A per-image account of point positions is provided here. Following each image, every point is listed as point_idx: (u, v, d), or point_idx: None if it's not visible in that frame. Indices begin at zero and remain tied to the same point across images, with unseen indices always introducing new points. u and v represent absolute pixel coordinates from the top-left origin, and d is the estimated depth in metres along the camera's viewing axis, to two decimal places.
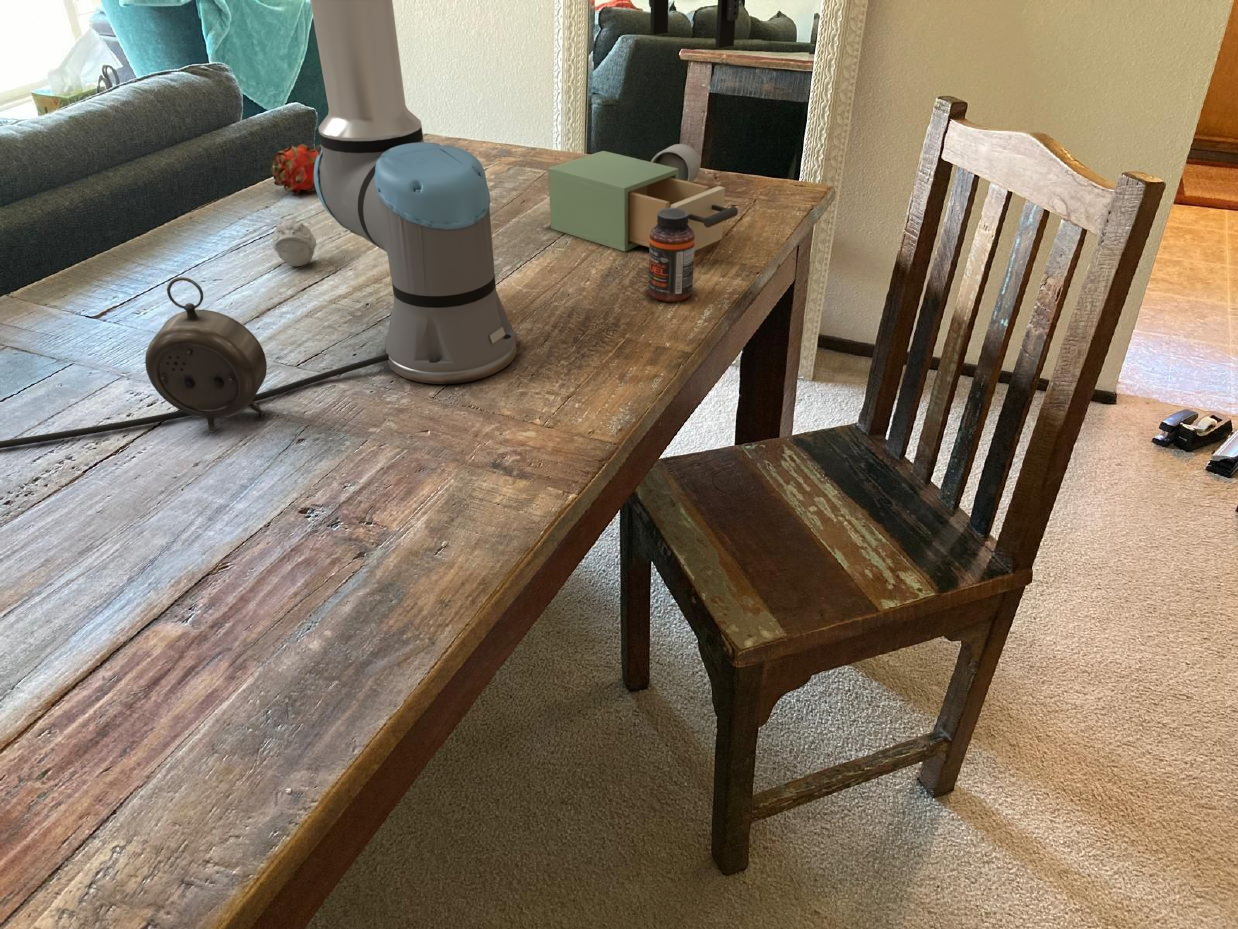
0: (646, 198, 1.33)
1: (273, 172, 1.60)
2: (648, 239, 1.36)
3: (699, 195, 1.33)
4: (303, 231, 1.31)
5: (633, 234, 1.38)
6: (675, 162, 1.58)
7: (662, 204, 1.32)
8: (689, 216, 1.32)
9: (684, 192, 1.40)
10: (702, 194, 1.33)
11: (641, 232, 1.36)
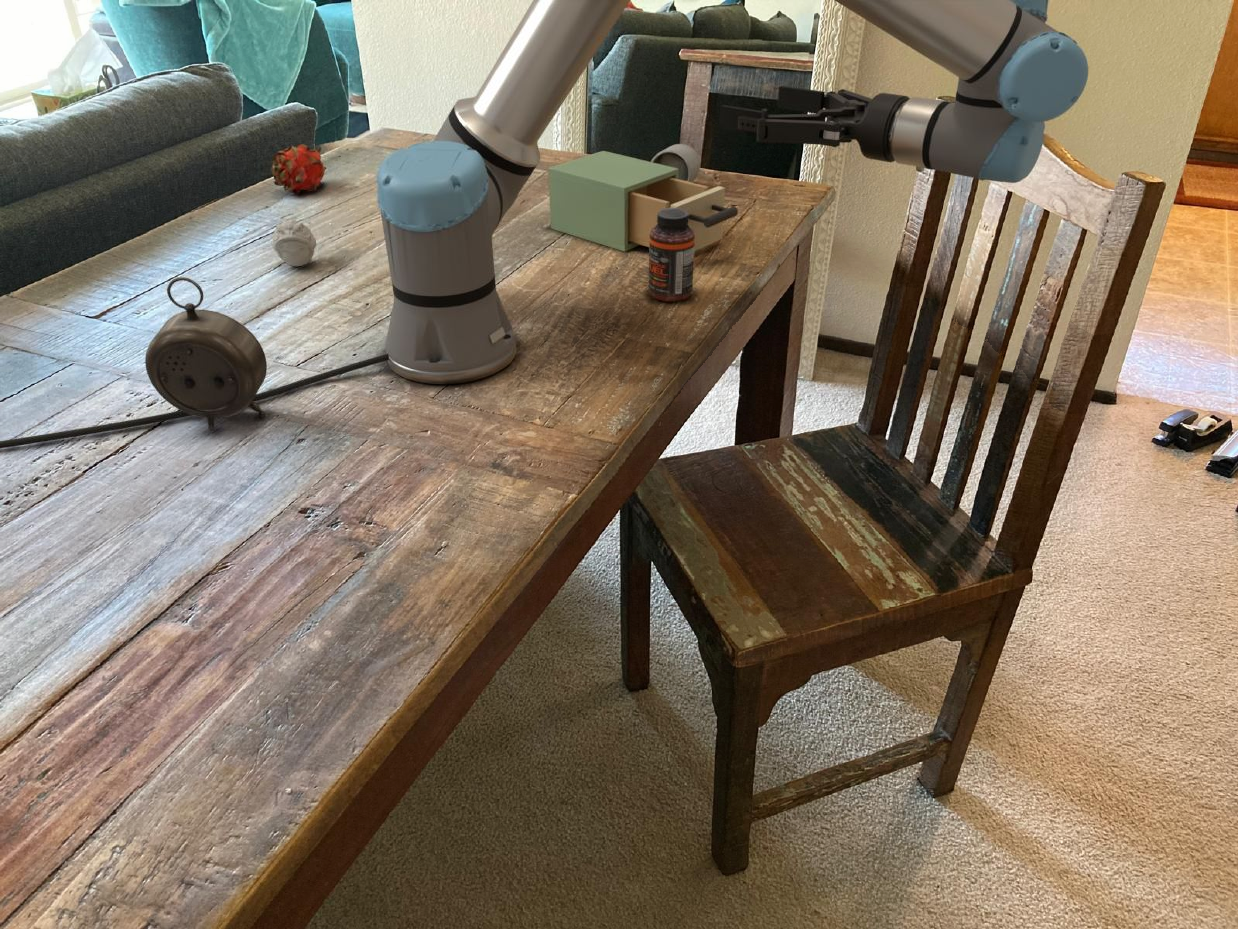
0: (646, 198, 1.33)
1: (273, 172, 1.60)
2: (648, 239, 1.36)
3: (699, 195, 1.33)
4: (303, 231, 1.31)
5: (633, 234, 1.38)
6: (674, 162, 1.58)
7: (662, 204, 1.32)
8: (689, 216, 1.32)
9: (684, 192, 1.40)
10: (702, 194, 1.33)
11: (641, 232, 1.36)
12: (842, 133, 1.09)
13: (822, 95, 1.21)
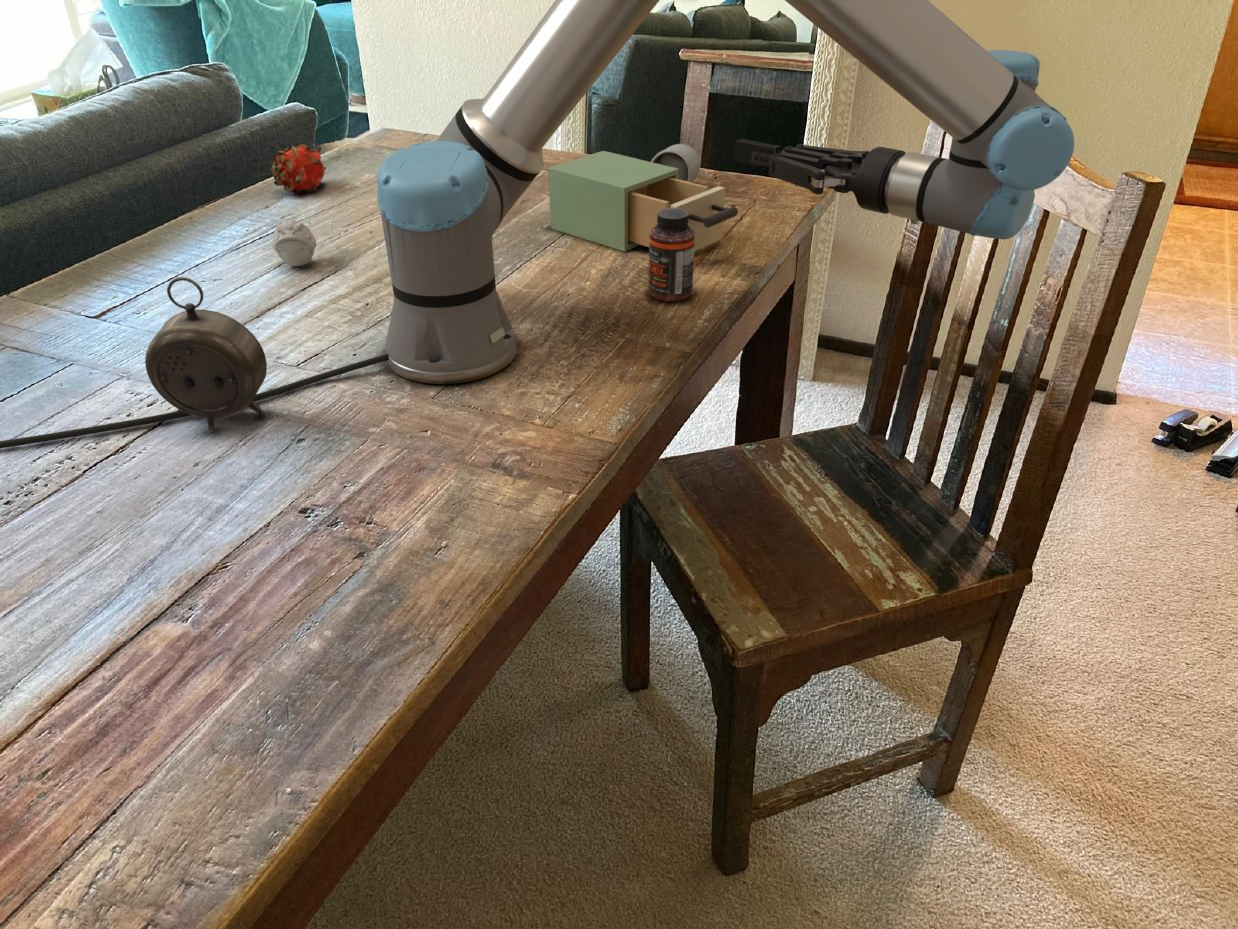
0: (646, 198, 1.33)
1: (273, 172, 1.60)
2: (648, 239, 1.36)
3: (699, 195, 1.33)
4: (303, 231, 1.31)
5: (633, 234, 1.38)
6: (674, 162, 1.58)
7: (662, 204, 1.32)
8: (689, 216, 1.32)
9: (684, 192, 1.40)
10: (702, 194, 1.33)
11: (641, 232, 1.36)
12: (828, 183, 1.13)
13: None
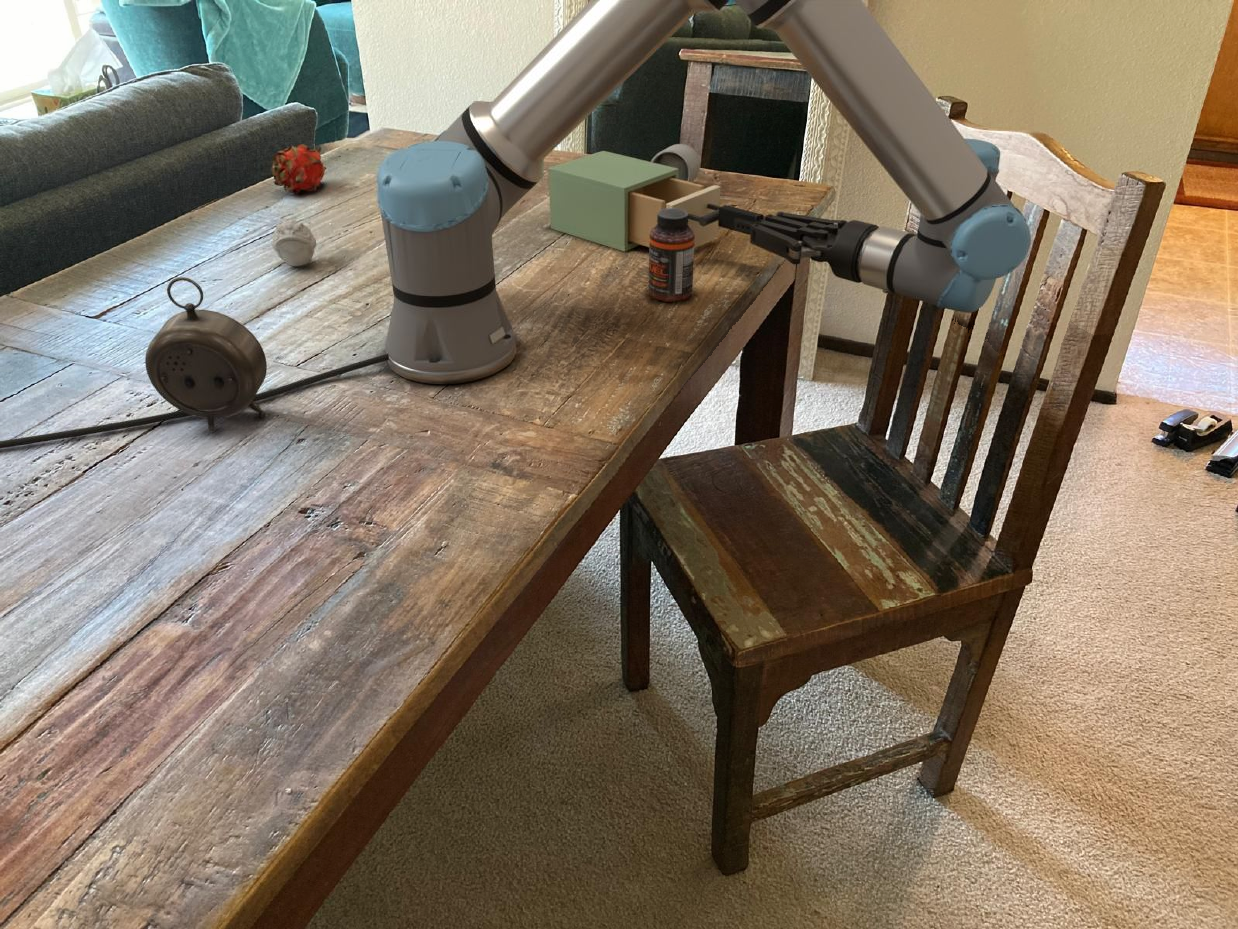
0: (642, 197, 1.34)
1: (273, 172, 1.60)
2: (644, 238, 1.37)
3: (695, 194, 1.34)
4: (303, 231, 1.31)
5: (629, 233, 1.38)
6: (674, 162, 1.58)
7: (657, 203, 1.32)
8: None
9: (679, 191, 1.40)
10: (697, 193, 1.34)
11: (637, 231, 1.37)
12: (805, 254, 1.19)
13: None
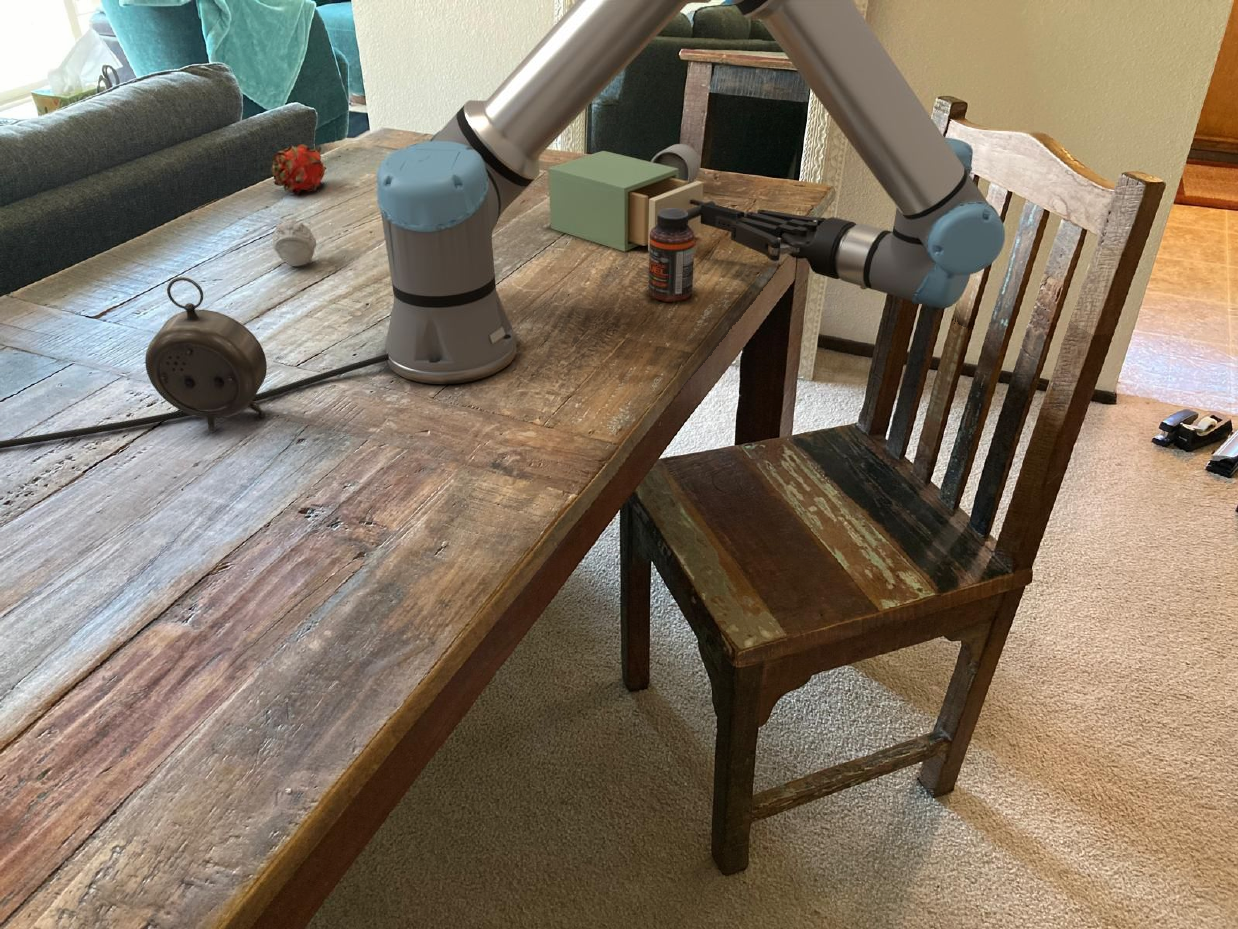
0: None
1: (273, 172, 1.60)
2: (628, 233, 1.38)
3: (677, 189, 1.35)
4: (303, 231, 1.31)
5: None
6: (674, 162, 1.58)
7: (641, 198, 1.34)
8: None
9: (663, 186, 1.42)
10: (680, 189, 1.36)
11: None
12: (784, 251, 1.21)
13: None
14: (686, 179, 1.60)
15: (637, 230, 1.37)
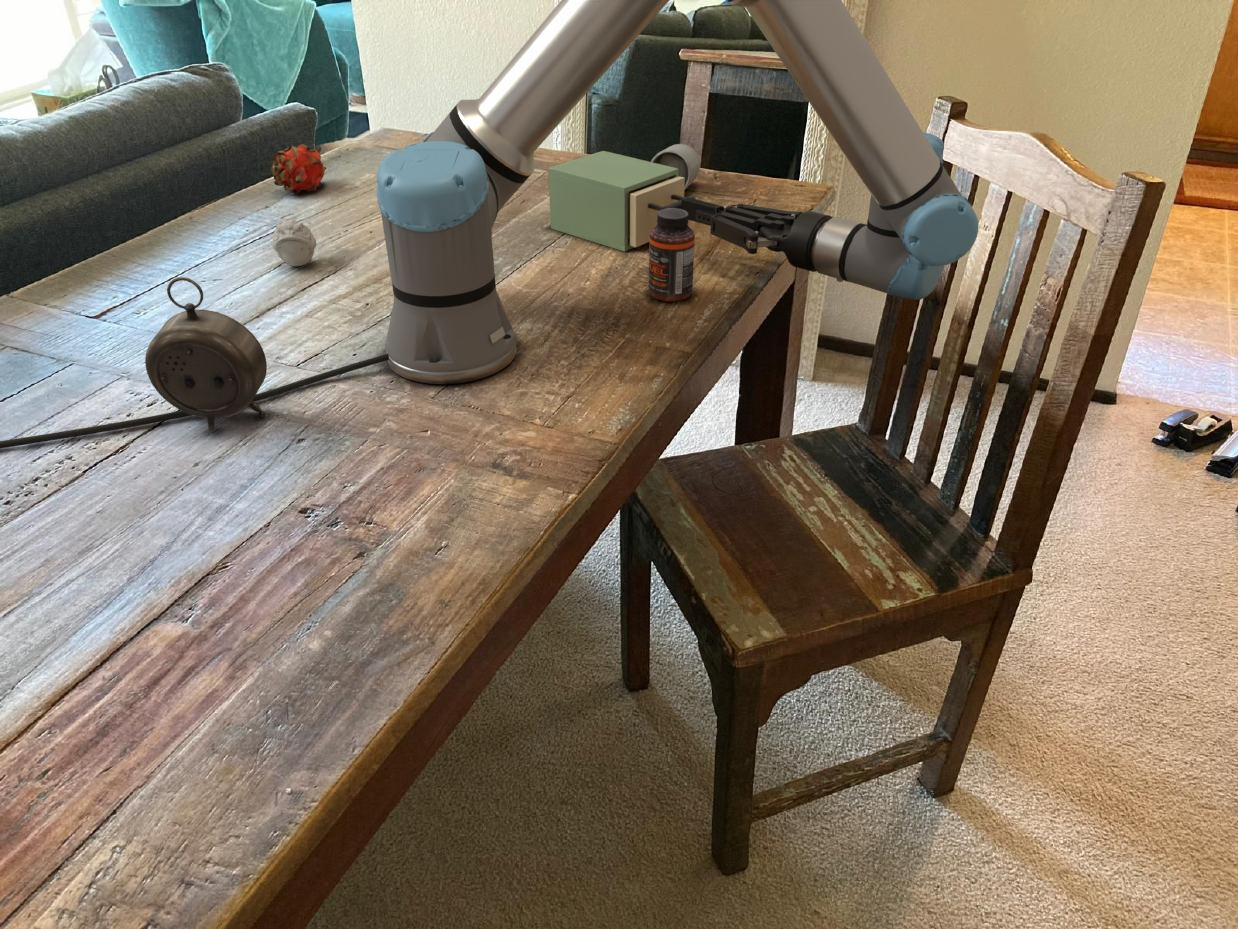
0: None
1: (273, 172, 1.60)
2: None
3: (658, 185, 1.37)
4: (303, 231, 1.31)
5: None
6: (675, 162, 1.58)
7: None
8: (648, 205, 1.36)
9: None
10: (661, 184, 1.38)
11: None
12: (761, 244, 1.23)
13: (721, 210, 1.32)
14: (686, 179, 1.60)
15: None
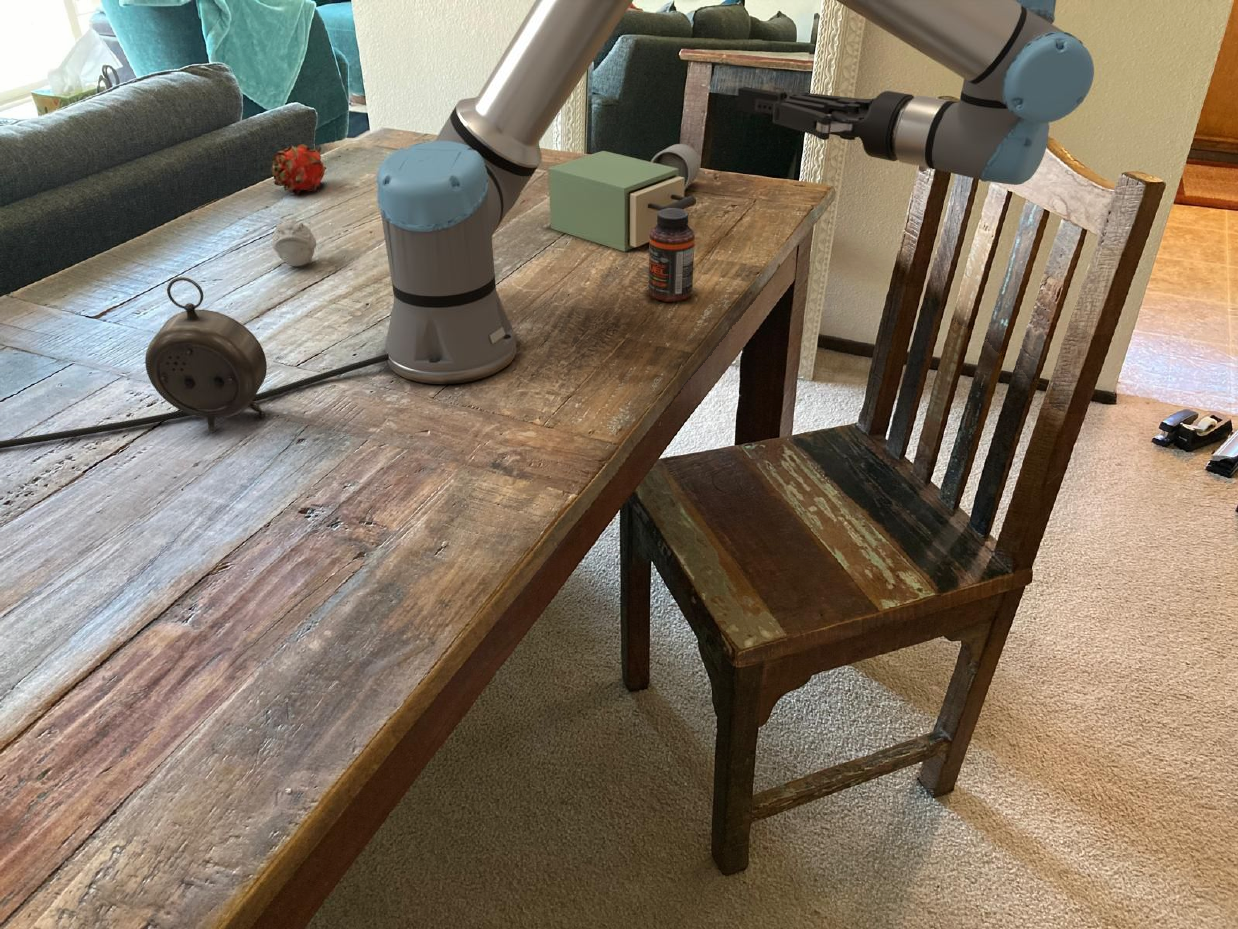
0: None
1: (273, 172, 1.60)
2: None
3: (658, 185, 1.37)
4: (303, 231, 1.31)
5: None
6: (675, 162, 1.58)
7: None
8: (648, 205, 1.36)
9: None
10: (661, 184, 1.38)
11: None
12: (834, 128, 1.09)
13: None
14: (686, 179, 1.60)
15: None
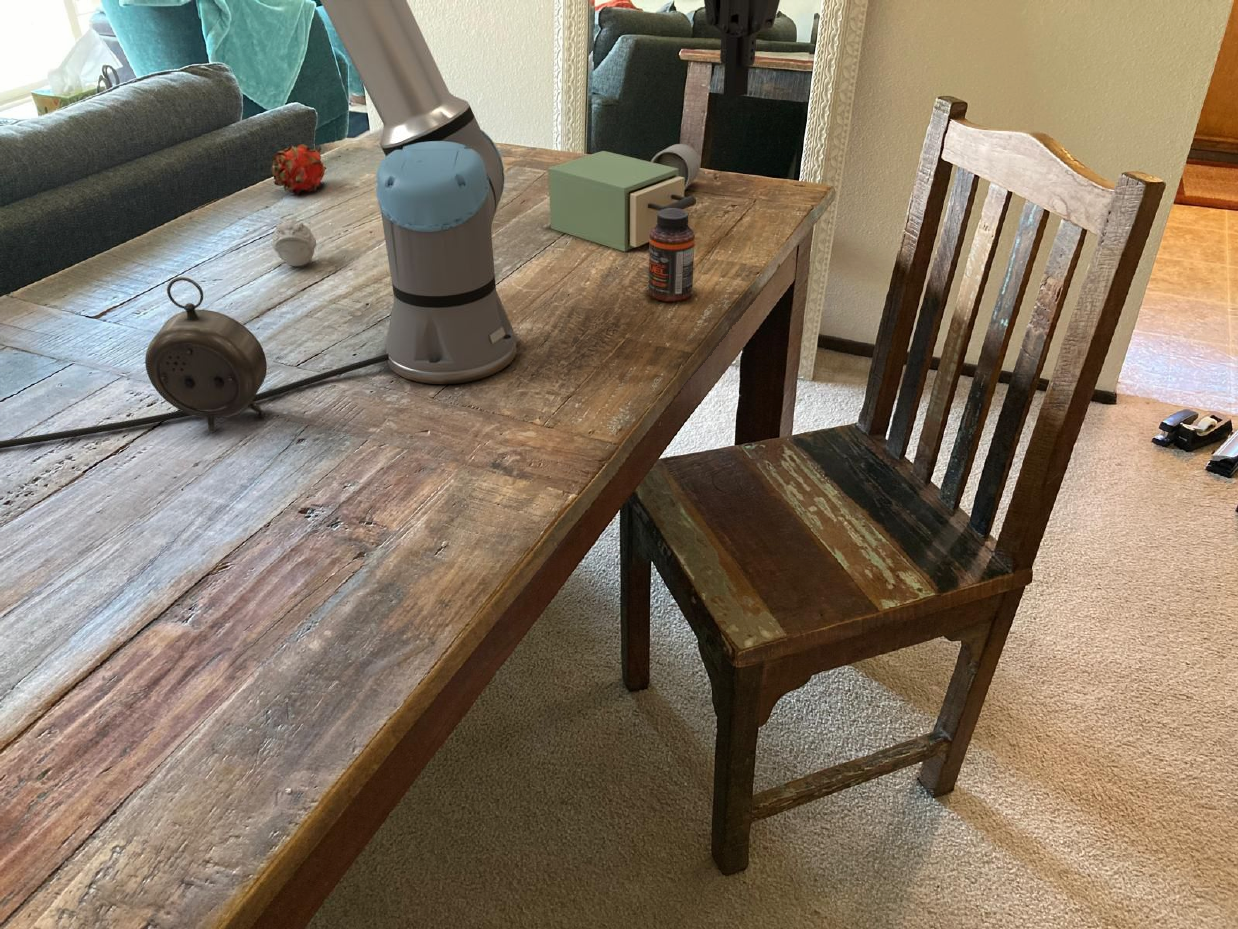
0: None
1: (273, 172, 1.60)
2: None
3: (658, 185, 1.37)
4: (303, 231, 1.31)
5: None
6: (674, 162, 1.58)
7: None
8: (648, 205, 1.36)
9: None
10: (661, 184, 1.38)
11: None
12: None
13: (732, 35, 1.04)
14: (686, 179, 1.60)
15: None
